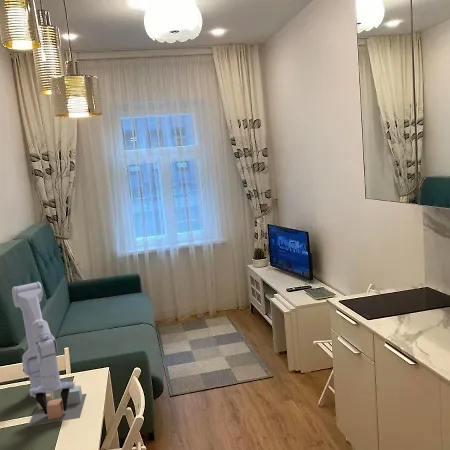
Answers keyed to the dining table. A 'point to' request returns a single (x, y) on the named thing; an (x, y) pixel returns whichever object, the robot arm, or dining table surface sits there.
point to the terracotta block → (55, 408)
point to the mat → (70, 413)
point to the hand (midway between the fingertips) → (56, 411)
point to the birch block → (47, 399)
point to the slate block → (75, 395)
